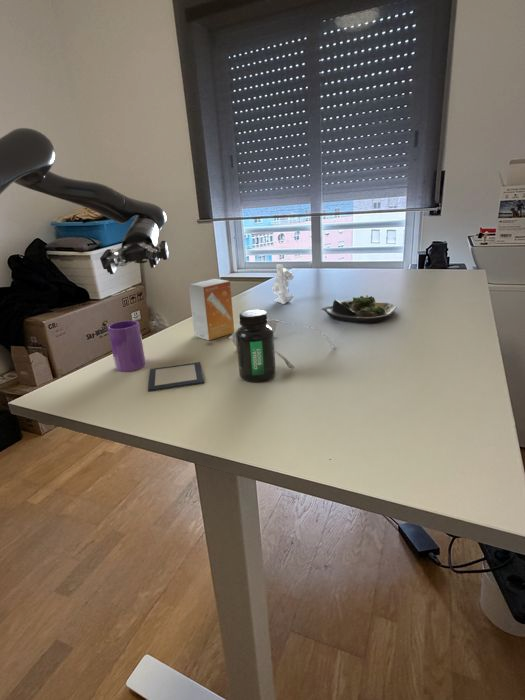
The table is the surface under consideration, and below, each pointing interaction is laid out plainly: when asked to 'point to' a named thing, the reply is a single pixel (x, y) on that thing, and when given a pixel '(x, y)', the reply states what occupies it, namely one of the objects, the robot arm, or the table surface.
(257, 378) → the supplement bottle
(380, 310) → the salad plate
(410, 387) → the table surface
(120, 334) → the tumbler
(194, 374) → the tablet
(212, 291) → the small box
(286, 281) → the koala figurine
